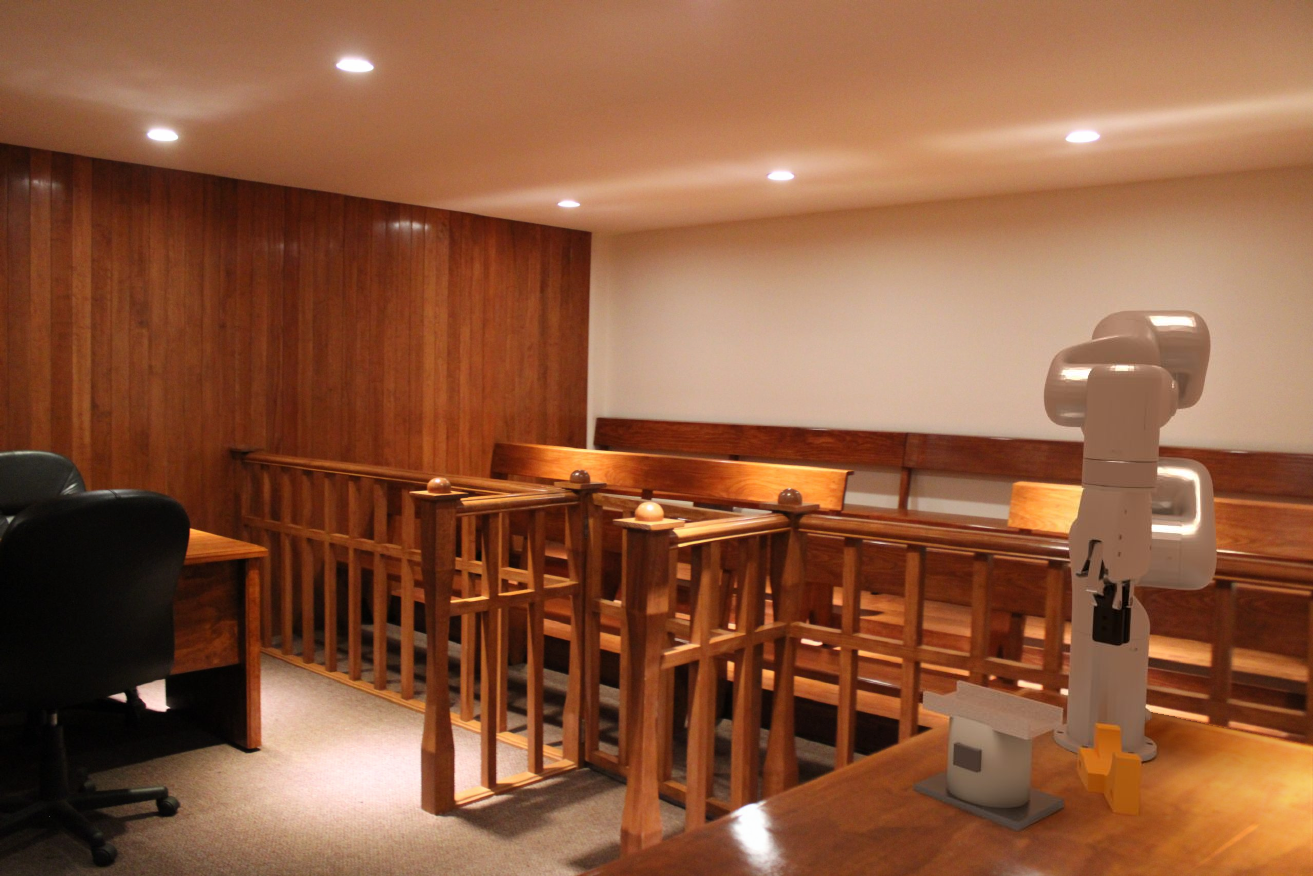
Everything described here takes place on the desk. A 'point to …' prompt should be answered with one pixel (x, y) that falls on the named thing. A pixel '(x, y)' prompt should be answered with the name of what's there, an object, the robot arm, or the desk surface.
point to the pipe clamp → (1111, 770)
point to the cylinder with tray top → (992, 754)
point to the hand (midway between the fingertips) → (1110, 641)
